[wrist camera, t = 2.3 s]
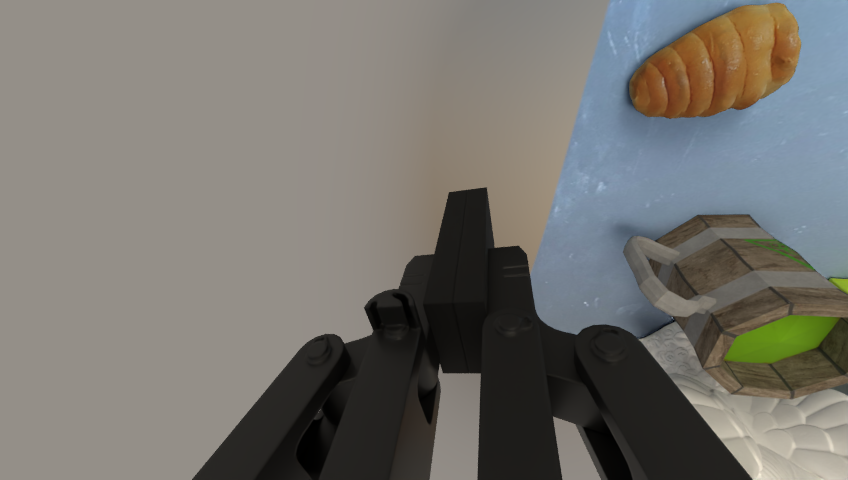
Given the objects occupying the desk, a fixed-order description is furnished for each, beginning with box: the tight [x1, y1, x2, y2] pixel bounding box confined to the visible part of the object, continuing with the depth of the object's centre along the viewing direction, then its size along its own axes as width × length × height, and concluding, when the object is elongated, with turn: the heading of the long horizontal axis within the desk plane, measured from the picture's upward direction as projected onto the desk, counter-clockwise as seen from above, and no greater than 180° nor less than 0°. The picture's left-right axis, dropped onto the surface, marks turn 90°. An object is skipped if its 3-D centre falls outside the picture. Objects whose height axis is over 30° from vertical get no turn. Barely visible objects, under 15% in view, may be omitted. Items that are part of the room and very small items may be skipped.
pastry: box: [629, 3, 801, 119], centre depth 24 cm, size 9×7×4 cm
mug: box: [623, 215, 848, 399], centre depth 29 cm, size 16×11×12 cm
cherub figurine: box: [639, 321, 848, 480], centre depth 32 cm, size 13×12×20 cm
